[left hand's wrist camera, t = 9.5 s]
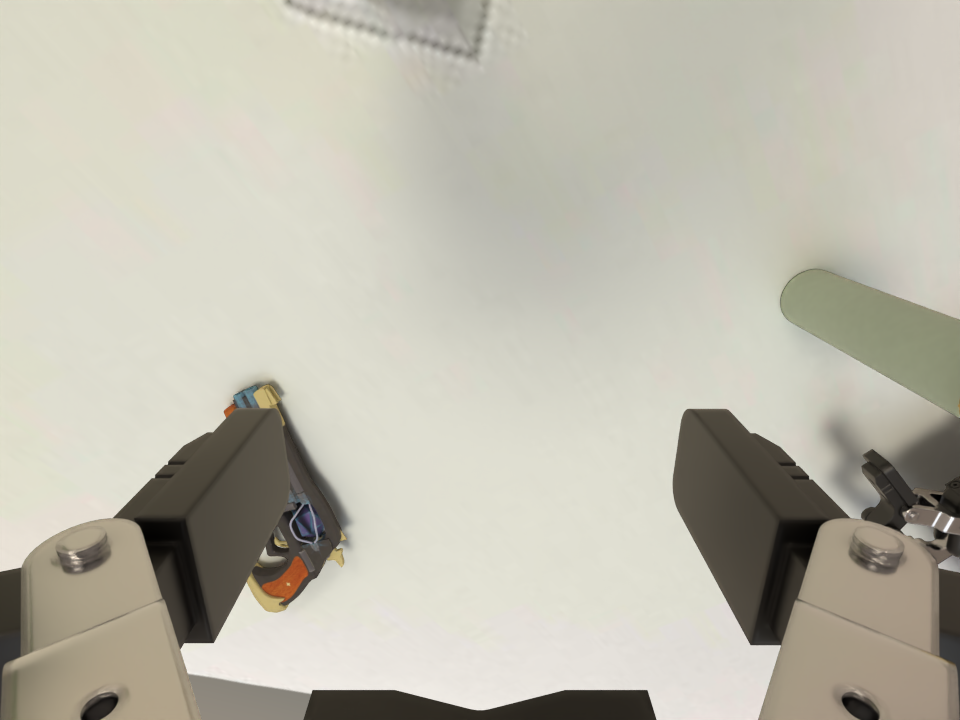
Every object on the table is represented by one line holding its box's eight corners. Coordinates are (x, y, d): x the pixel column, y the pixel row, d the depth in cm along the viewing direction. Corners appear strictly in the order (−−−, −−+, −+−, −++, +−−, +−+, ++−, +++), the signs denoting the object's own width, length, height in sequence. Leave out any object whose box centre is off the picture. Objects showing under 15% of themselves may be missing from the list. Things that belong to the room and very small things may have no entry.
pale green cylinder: (818, 333, 40) (1047, 460, 24) (769, 314, 40) (969, 431, 24) (850, 280, 39) (1116, 378, 23) (799, 260, 39) (1035, 345, 22)
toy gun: (262, 623, 47) (368, 601, 44) (147, 425, 42) (260, 389, 39) (277, 599, 49) (378, 577, 47) (171, 410, 44) (278, 375, 42)
